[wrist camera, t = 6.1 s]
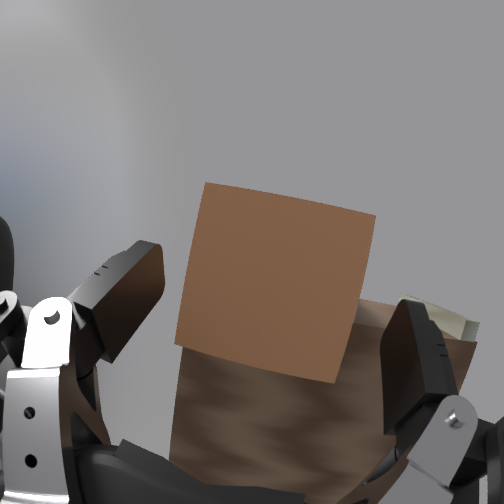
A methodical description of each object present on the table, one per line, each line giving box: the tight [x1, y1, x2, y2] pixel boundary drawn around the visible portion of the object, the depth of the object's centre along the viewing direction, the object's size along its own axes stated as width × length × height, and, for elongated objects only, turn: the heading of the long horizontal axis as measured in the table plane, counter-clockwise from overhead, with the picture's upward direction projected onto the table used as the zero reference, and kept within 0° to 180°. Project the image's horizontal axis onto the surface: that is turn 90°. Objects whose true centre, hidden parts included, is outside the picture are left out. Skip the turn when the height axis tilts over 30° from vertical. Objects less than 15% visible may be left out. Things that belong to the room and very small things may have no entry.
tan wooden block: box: [174, 182, 376, 383], centre depth 18 cm, size 4×24×4 cm, turn 171°
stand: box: [169, 294, 480, 504], centre depth 20 cm, size 17×12×33 cm
